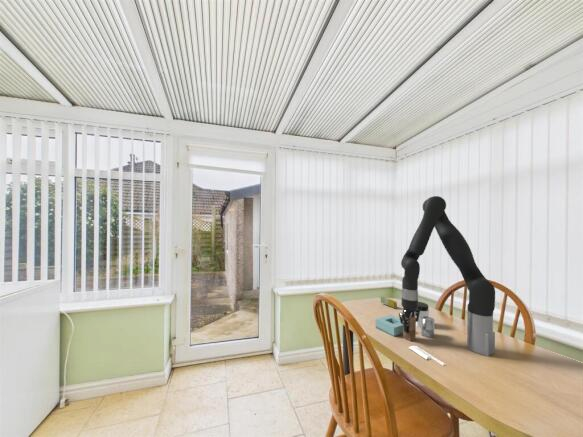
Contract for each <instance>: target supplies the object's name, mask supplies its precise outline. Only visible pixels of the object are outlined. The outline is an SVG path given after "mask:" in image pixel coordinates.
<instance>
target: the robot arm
mask: <svg viewBox="0 0 583 437" xmlns="http://www.w3.org/2000/svg"><path fill="white" fill-rule="evenodd" d="M446 209H447V203H446V200H445V198H444V197H441V196H438V195H434V196H431V197H428V198H427V199H426V200H424V201H423V204H422V211H423V215H422V218H421V221H420V223H419V225H418V227H417V228H416V231H415V233H414V234H413V236H412V239H411V241H410V244H409V246H408V248H407V250H406V251H405V253H404V255H403V257H402V259H401V262H400V265H401V268H403V270H404V273H403V274H404V275H403V277H402V279H401V280H402V282H401V286H402V287H401V307H402V312H399V313H398V318H399V319H400V322H401V324H403V325H404V332H406V333H409V321H410V318H411V317H412V316H414V317H416V322H418V319H419V314H420V310H418V309H417V308H418V302H419V291H418V290H419V288H418V287H419V282H418V281H419V277H420V269H421V266H420V263H419V261H418V260H419V258H420V256H422V255H424V253H425V250H426V248H427V245H428V244H429V241H430V239H431V236H432V233H433V231H434V228H435V231H436V233H437V235H438V237H439V240H440V241H441V243H442V245H443V247H444V249H445V250H446V252H447V254H448V255H449V257H450V259H451V260H452V262H453V263H454V264H455V266H456V267H457V268H458V270H459V272H460V273H461V276H462V278H463V280H464V283H465V286H466V289H467V290H468V291H469V294H468V304H467V310H466V311H467V314H466V315H467V316H466V318H467V320H466V321H467V323H466V324H467V325H466V326H467V327H466V331H467V332H466V347H467V349H468V350H470V351H471V352H473V353H476V354H479V355H484V356H485V357H490V356H492V355H494V354H496V352H495V351H496V350H495V349H496V348H495V347H496V346H495V344H496V332H495V331H494V311H495V307H496V306H495V305H496V290H495V286H494V285H493V283H492V282H490V281H489V280H488V279H487V278H486V276H485V275H484V274H483V273H482V271H481V270H480V268H479V267H478V266H477V264H476V261H475V259H474V255H473V252H472V250H471V248H470V245H469V244H468V242H467V240H466V238H465V237H464V235H463V233H461V231H459V229H458V228H457V227H456V226H455V225H454V224H453V222H451V220H450V219H449V216H448V215H447V213H446V211H445V210H446ZM405 317H406V318H405ZM407 318H408V319H407ZM406 320H407V323H406ZM493 353H494V354H493ZM491 354H492V355H491Z"/></svg>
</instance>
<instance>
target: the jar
mask: <svg viewBox="0 0 583 437" xmlns="http://www.w3.org/2000/svg"><path fill="white" fill-rule="evenodd" d="M417 309H418V310H420V314H419V319H418V322H416V328H421V317H424V316H426V317H430V310H429V305H428V303H425V302H422V301H418V308H417Z"/></svg>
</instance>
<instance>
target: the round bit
mask: <svg viewBox="0 0 583 437" xmlns="http://www.w3.org/2000/svg"><path fill="white" fill-rule="evenodd" d="M420 328H421V331H420V332H421V333H420V334H421V336H422V337H423V338H426V339H427V338H428V339H434V338H435V319H434V318H433V317H430V316H429V317H426V316H424V317H421V327H420Z"/></svg>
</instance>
